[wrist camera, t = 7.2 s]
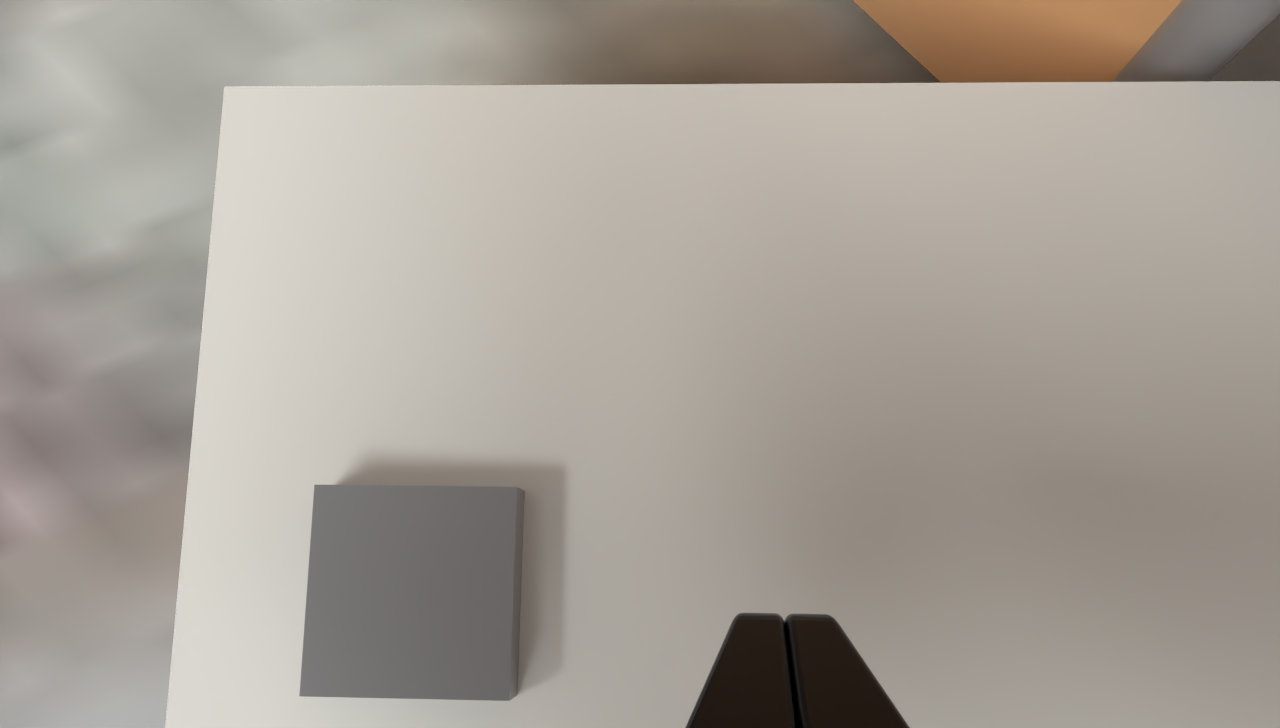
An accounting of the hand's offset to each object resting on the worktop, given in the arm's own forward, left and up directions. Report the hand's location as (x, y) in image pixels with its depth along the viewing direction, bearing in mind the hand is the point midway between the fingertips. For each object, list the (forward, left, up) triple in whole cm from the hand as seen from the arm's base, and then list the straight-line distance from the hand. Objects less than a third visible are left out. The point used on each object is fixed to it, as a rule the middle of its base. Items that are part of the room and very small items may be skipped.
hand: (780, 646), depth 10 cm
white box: (+2, -1, -10) cm, 11 cm away
